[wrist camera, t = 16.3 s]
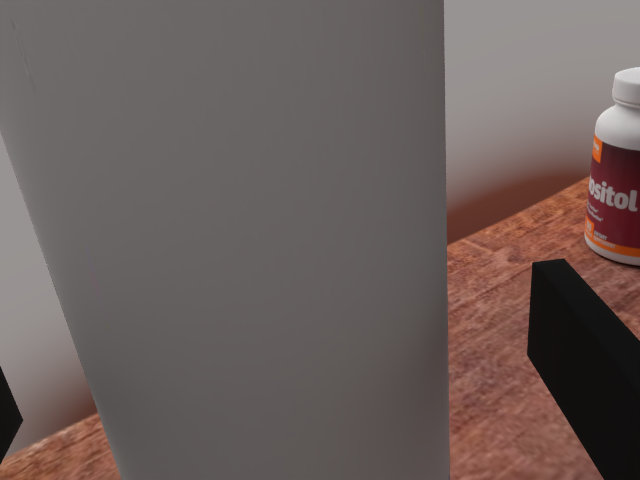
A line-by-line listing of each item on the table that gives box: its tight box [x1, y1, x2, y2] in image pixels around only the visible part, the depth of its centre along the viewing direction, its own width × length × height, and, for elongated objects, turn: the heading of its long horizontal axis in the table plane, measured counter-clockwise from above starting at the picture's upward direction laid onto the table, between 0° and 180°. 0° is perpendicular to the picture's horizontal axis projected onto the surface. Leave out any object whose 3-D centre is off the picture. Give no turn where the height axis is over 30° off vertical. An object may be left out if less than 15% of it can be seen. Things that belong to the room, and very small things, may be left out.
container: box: [0, 0, 450, 480], centre depth 18 cm, size 10×10×20 cm
